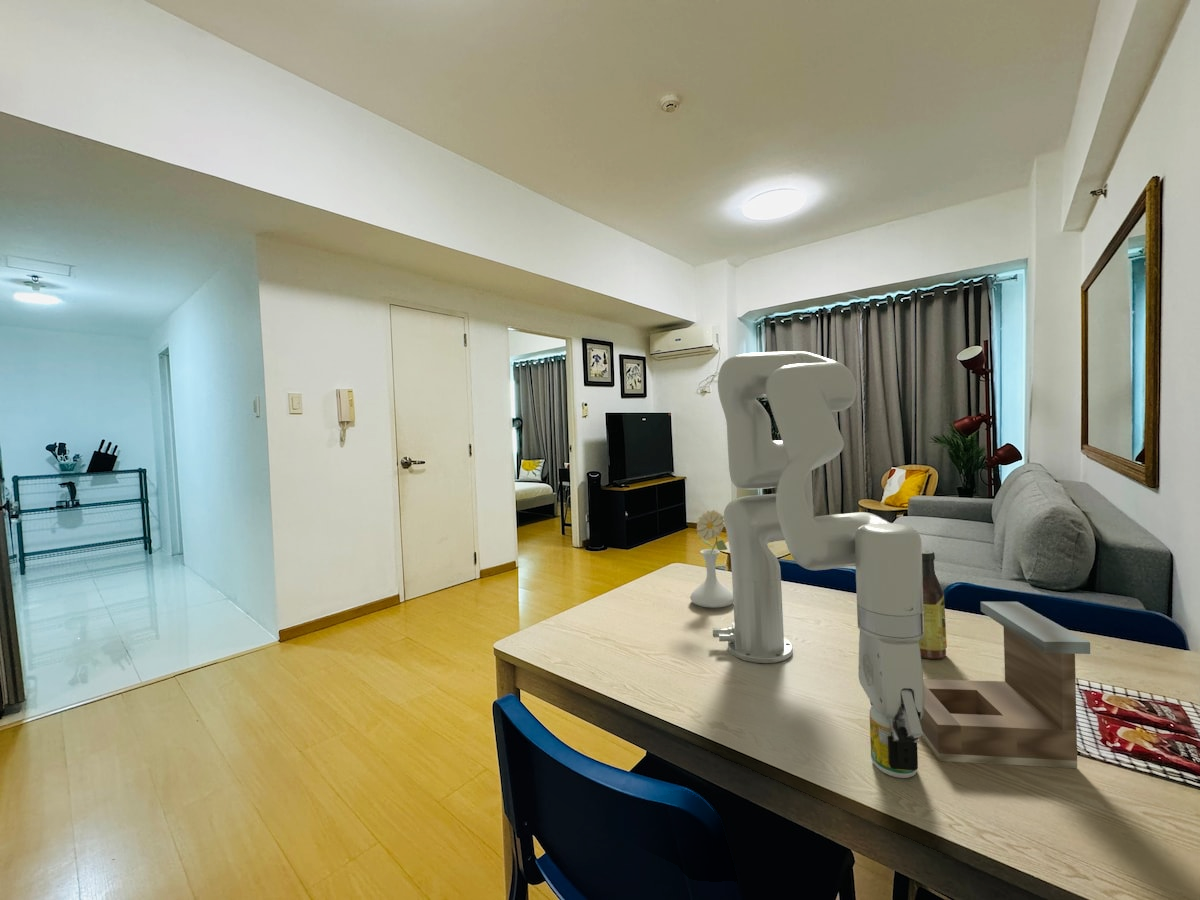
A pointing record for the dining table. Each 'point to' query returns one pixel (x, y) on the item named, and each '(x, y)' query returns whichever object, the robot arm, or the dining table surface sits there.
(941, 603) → the sauce bottle
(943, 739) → the socket block
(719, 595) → the flower in vase
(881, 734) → the supplement bottle
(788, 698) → the dining table surface
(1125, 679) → the dining table surface
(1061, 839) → the dining table surface
